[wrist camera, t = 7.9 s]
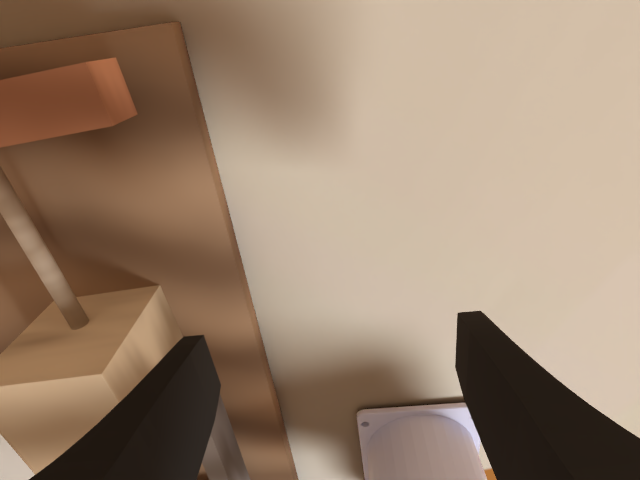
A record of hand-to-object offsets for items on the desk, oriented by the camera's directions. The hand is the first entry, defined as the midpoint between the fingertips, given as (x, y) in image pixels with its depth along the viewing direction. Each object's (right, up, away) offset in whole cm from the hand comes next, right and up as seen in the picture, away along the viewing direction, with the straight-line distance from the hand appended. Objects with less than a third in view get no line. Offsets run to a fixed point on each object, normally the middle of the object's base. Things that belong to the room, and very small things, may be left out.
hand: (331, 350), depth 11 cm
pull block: (-12, +2, +9) cm, 15 cm away
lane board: (-12, -3, +13) cm, 18 cm away
